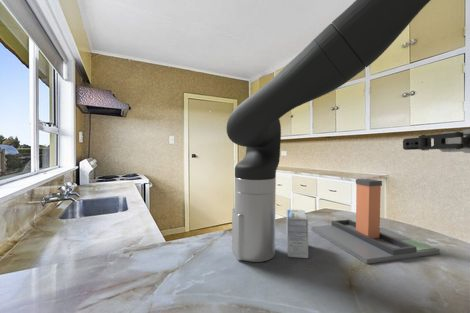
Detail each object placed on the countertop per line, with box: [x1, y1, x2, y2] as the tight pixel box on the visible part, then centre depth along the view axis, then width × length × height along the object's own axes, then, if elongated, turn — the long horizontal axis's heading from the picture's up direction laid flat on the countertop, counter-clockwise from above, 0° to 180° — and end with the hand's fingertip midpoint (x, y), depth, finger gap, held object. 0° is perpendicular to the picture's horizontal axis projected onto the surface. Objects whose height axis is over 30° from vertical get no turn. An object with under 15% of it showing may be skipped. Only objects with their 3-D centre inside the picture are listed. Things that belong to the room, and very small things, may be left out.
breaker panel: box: [310, 219, 441, 264], centre depth 58 cm, size 20×20×2 cm
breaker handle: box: [355, 178, 383, 238], centre depth 58 cm, size 4×4×14 cm
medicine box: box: [286, 209, 309, 259], centre depth 52 cm, size 8×4×9 cm, turn 168°
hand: (420, 144), depth 45 cm, fingers open, 8 cm apart
